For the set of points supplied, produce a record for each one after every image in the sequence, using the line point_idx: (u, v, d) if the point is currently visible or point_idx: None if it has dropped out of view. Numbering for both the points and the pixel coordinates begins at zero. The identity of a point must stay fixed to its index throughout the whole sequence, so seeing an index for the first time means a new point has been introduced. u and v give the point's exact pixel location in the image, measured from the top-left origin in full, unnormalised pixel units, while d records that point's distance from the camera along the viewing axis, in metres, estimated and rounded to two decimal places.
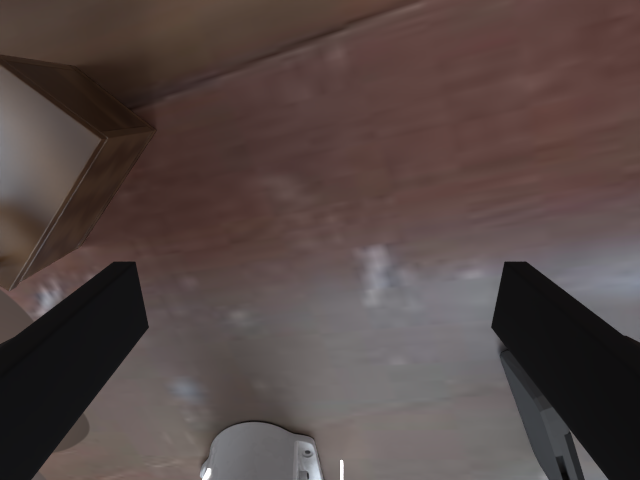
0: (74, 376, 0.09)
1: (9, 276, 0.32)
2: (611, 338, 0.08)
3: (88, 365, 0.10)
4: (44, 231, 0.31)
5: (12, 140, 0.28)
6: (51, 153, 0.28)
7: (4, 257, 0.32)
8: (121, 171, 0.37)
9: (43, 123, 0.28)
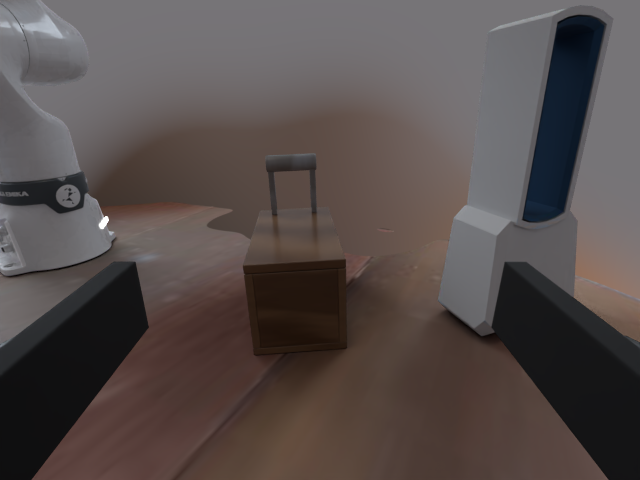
0: (74, 375, 0.09)
1: (263, 213, 0.48)
2: (611, 338, 0.08)
3: (88, 365, 0.10)
4: (255, 228, 0.42)
5: (299, 243, 0.37)
6: (272, 248, 0.36)
7: (271, 216, 0.46)
8: None
9: (286, 254, 0.34)
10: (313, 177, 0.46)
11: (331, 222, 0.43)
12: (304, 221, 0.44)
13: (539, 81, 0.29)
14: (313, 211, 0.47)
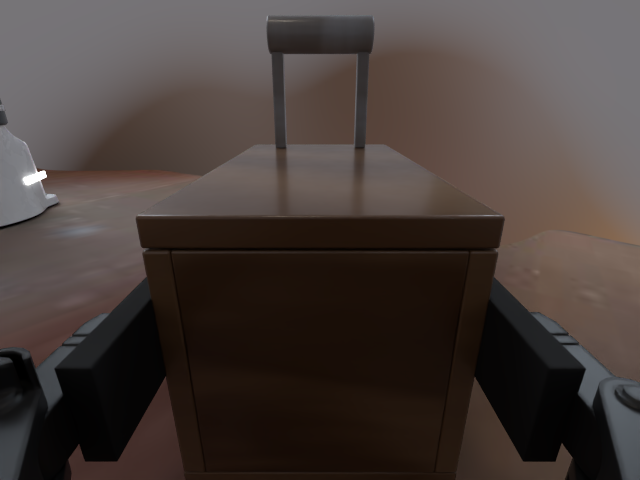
0: (157, 348, 0.10)
1: (260, 146, 0.24)
2: (514, 311, 0.09)
3: None
4: (231, 159, 0.19)
5: (335, 180, 0.13)
6: (255, 186, 0.12)
7: (273, 149, 0.23)
8: None
9: (294, 198, 0.11)
10: (364, 70, 0.22)
11: (403, 157, 0.19)
12: (342, 155, 0.20)
13: None
14: (358, 145, 0.24)
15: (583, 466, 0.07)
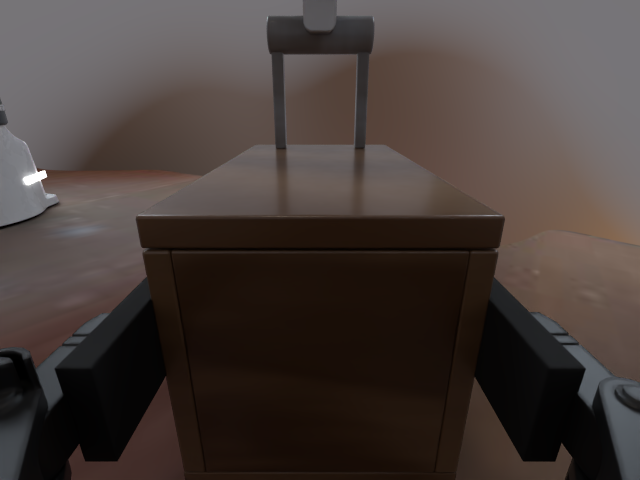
0: (157, 347, 0.10)
1: (260, 147, 0.24)
2: (514, 311, 0.09)
3: None
4: (231, 159, 0.19)
5: (335, 180, 0.13)
6: (256, 186, 0.12)
7: (273, 149, 0.23)
8: None
9: (294, 198, 0.11)
10: (364, 70, 0.22)
11: (403, 157, 0.19)
12: (342, 155, 0.20)
13: None
14: (358, 146, 0.24)
15: (583, 466, 0.07)
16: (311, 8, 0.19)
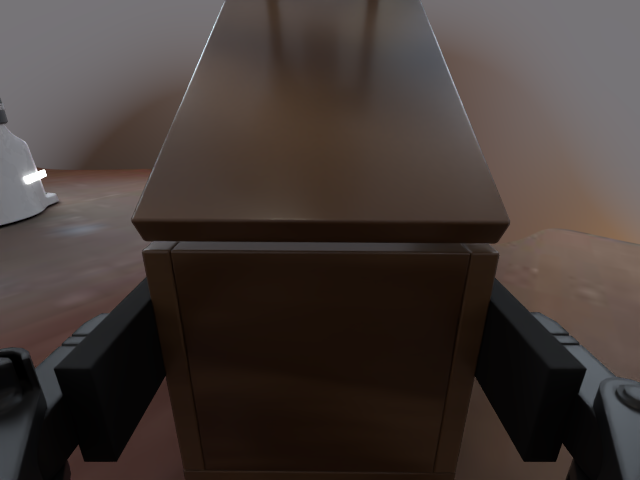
0: (157, 347, 0.10)
1: None
2: (515, 311, 0.09)
3: None
4: (211, 34, 0.15)
5: (338, 111, 0.12)
6: (248, 132, 0.11)
7: None
8: None
9: (292, 170, 0.10)
10: None
11: (426, 27, 0.15)
12: (350, 17, 0.16)
13: None
14: None
15: (583, 466, 0.07)
16: None
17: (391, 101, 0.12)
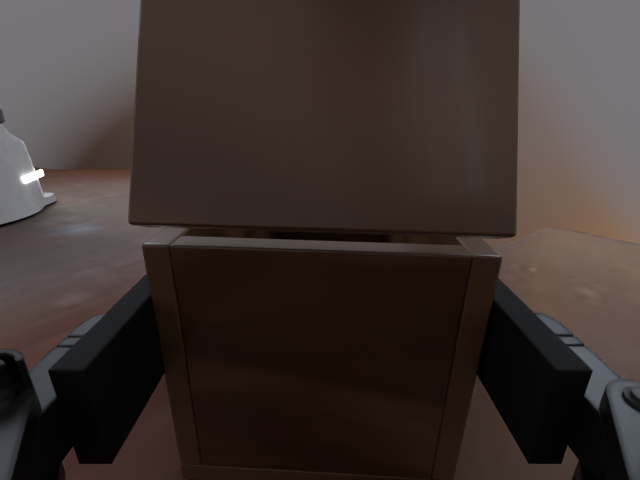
0: (153, 349, 0.10)
1: None
2: (519, 312, 0.09)
3: None
4: None
5: (346, 43, 0.09)
6: (232, 84, 0.09)
7: None
8: None
9: (288, 154, 0.09)
10: None
11: None
12: None
13: None
14: None
15: (589, 468, 0.07)
16: None
17: (421, 19, 0.09)
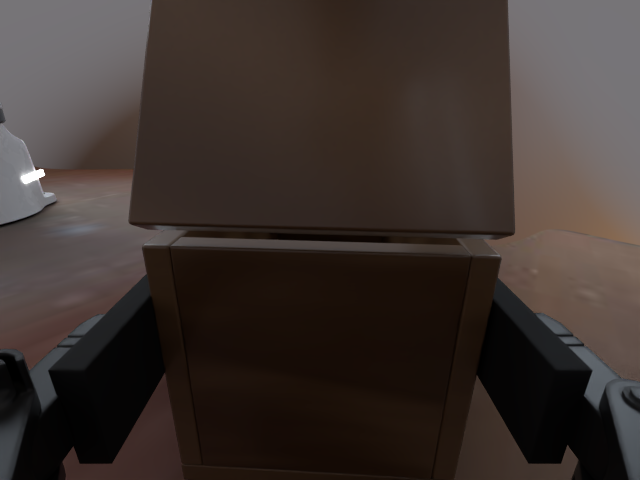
0: (153, 348, 0.10)
1: None
2: (519, 312, 0.09)
3: None
4: None
5: (345, 51, 0.09)
6: (235, 90, 0.09)
7: None
8: None
9: (288, 155, 0.09)
10: None
11: None
12: None
13: None
14: None
15: (589, 468, 0.07)
16: None
17: (415, 30, 0.09)
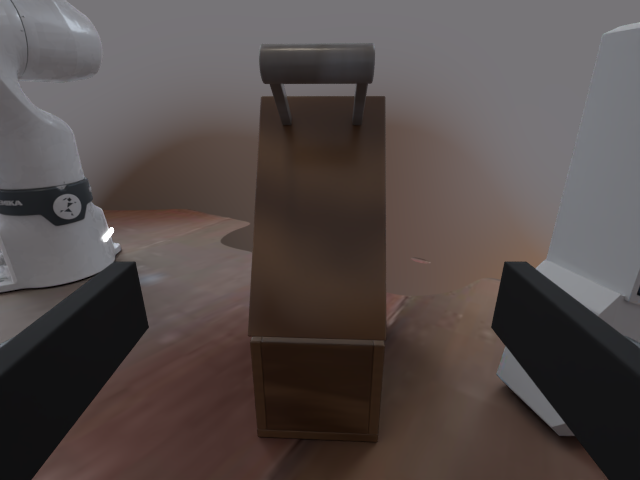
0: (74, 376, 0.09)
1: (267, 114, 0.27)
2: (611, 338, 0.08)
3: (88, 365, 0.10)
4: (256, 193, 0.26)
5: (326, 270, 0.25)
6: (285, 285, 0.25)
7: (281, 134, 0.27)
8: None
9: (305, 310, 0.25)
10: (363, 89, 0.22)
11: (382, 185, 0.26)
12: (337, 172, 0.26)
13: None
14: (355, 124, 0.26)
15: None
16: None
17: (351, 262, 0.25)
